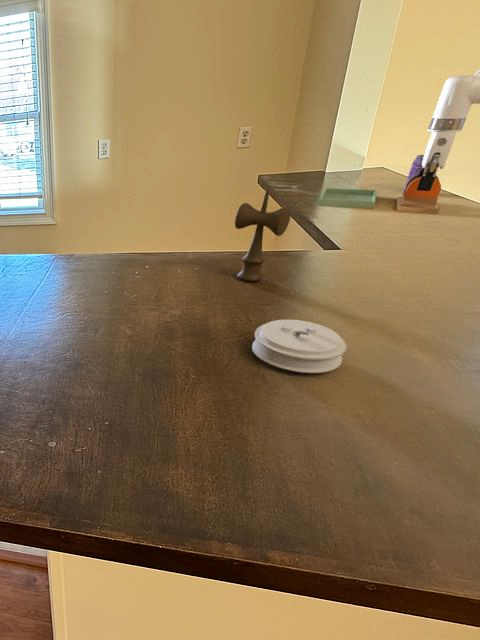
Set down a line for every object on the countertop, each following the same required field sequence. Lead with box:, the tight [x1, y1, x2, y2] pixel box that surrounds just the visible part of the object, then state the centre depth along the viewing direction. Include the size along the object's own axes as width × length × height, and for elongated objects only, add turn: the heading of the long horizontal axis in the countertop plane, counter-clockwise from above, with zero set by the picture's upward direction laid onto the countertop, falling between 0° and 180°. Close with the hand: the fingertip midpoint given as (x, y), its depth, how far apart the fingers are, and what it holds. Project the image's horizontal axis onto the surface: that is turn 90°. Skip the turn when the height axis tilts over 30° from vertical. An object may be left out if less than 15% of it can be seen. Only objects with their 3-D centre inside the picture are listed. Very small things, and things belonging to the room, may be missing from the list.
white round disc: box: [251, 319, 347, 374], centre depth 77 cm, size 13×13×5 cm
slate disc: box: [405, 173, 440, 190], centre depth 151 cm, size 1×8×8 cm, turn 55°
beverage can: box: [403, 154, 424, 192], centre depth 163 cm, size 7×7×12 cm
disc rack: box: [395, 191, 440, 214], centre depth 150 cm, size 16×10×4 cm, turn 145°
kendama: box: [234, 187, 292, 282], centre depth 103 cm, size 6×10×20 cm, turn 43°
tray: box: [317, 187, 378, 209], centre depth 162 cm, size 19×15×2 cm
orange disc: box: [406, 177, 442, 198], centre depth 146 cm, size 1×8×8 cm, turn 55°
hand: (422, 187), depth 145 cm, fingers open, 9 cm apart
